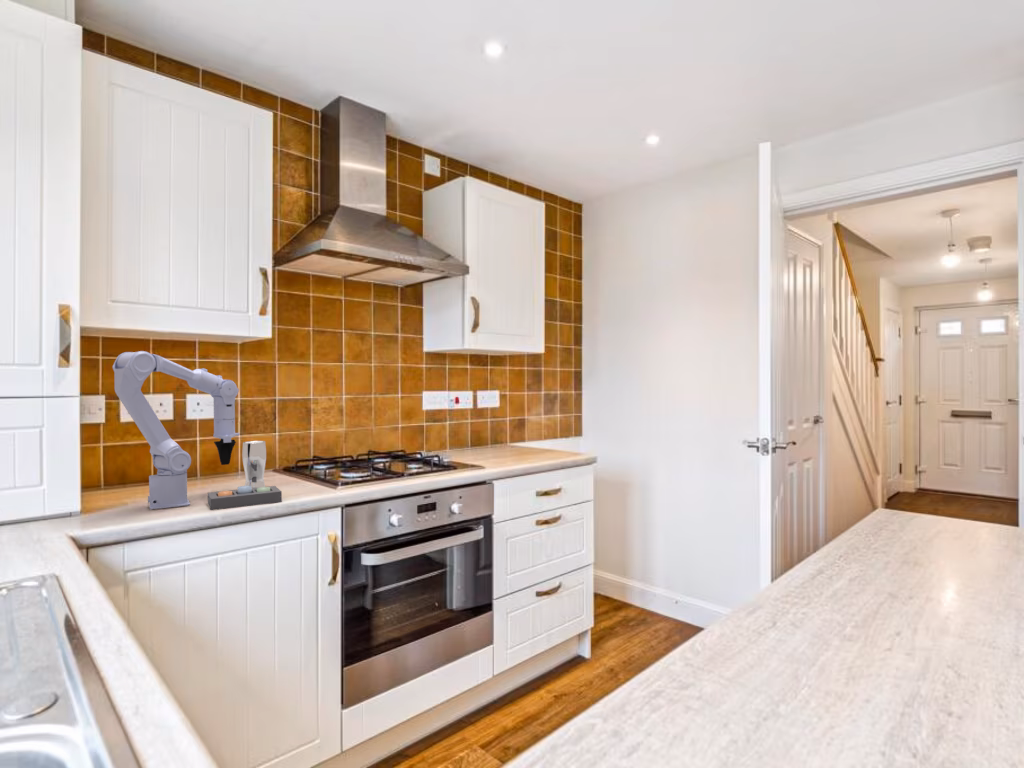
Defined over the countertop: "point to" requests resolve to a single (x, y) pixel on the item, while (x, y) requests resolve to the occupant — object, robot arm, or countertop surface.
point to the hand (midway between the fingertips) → (225, 464)
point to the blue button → (244, 489)
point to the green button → (263, 489)
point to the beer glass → (254, 463)
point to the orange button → (224, 493)
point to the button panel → (244, 498)
